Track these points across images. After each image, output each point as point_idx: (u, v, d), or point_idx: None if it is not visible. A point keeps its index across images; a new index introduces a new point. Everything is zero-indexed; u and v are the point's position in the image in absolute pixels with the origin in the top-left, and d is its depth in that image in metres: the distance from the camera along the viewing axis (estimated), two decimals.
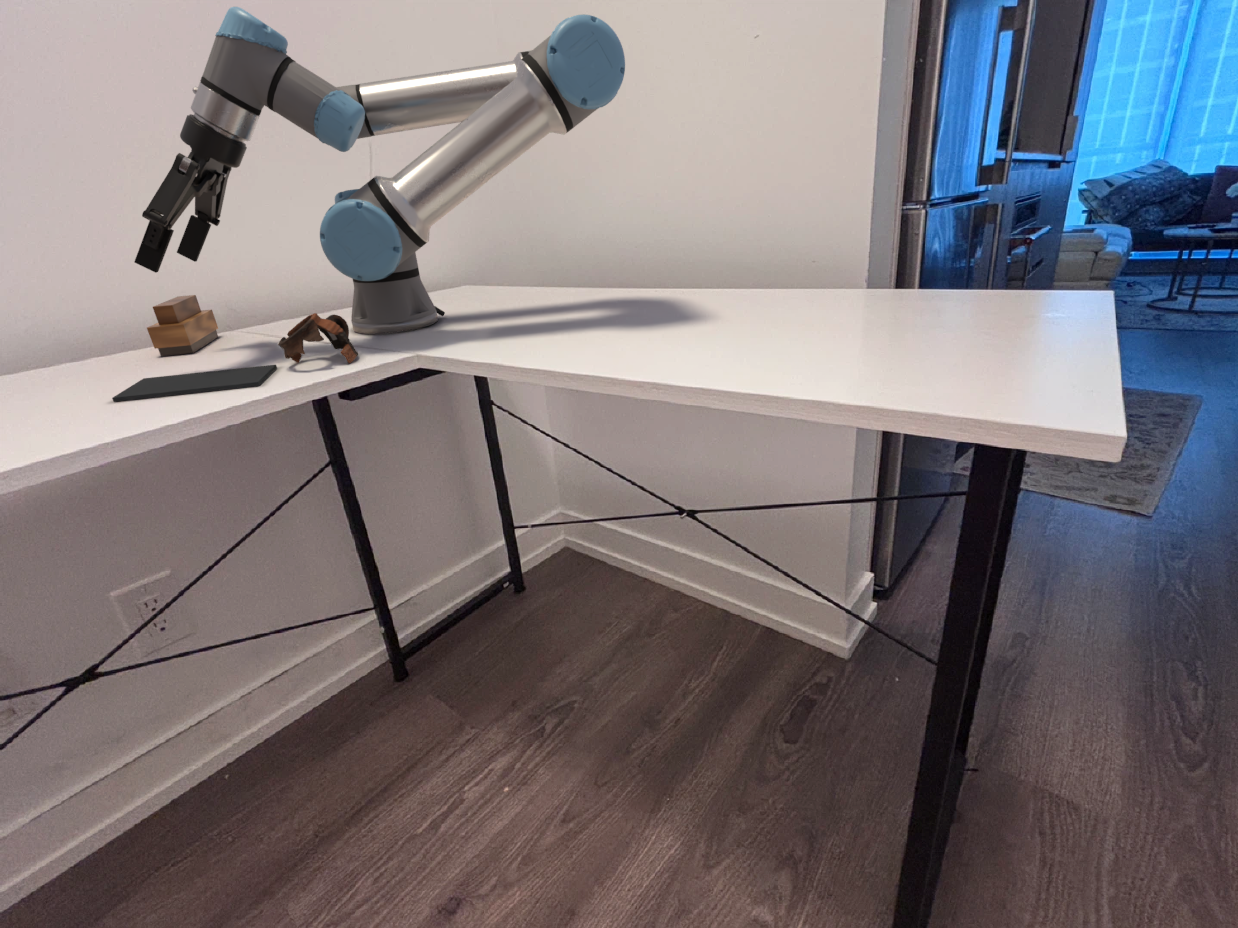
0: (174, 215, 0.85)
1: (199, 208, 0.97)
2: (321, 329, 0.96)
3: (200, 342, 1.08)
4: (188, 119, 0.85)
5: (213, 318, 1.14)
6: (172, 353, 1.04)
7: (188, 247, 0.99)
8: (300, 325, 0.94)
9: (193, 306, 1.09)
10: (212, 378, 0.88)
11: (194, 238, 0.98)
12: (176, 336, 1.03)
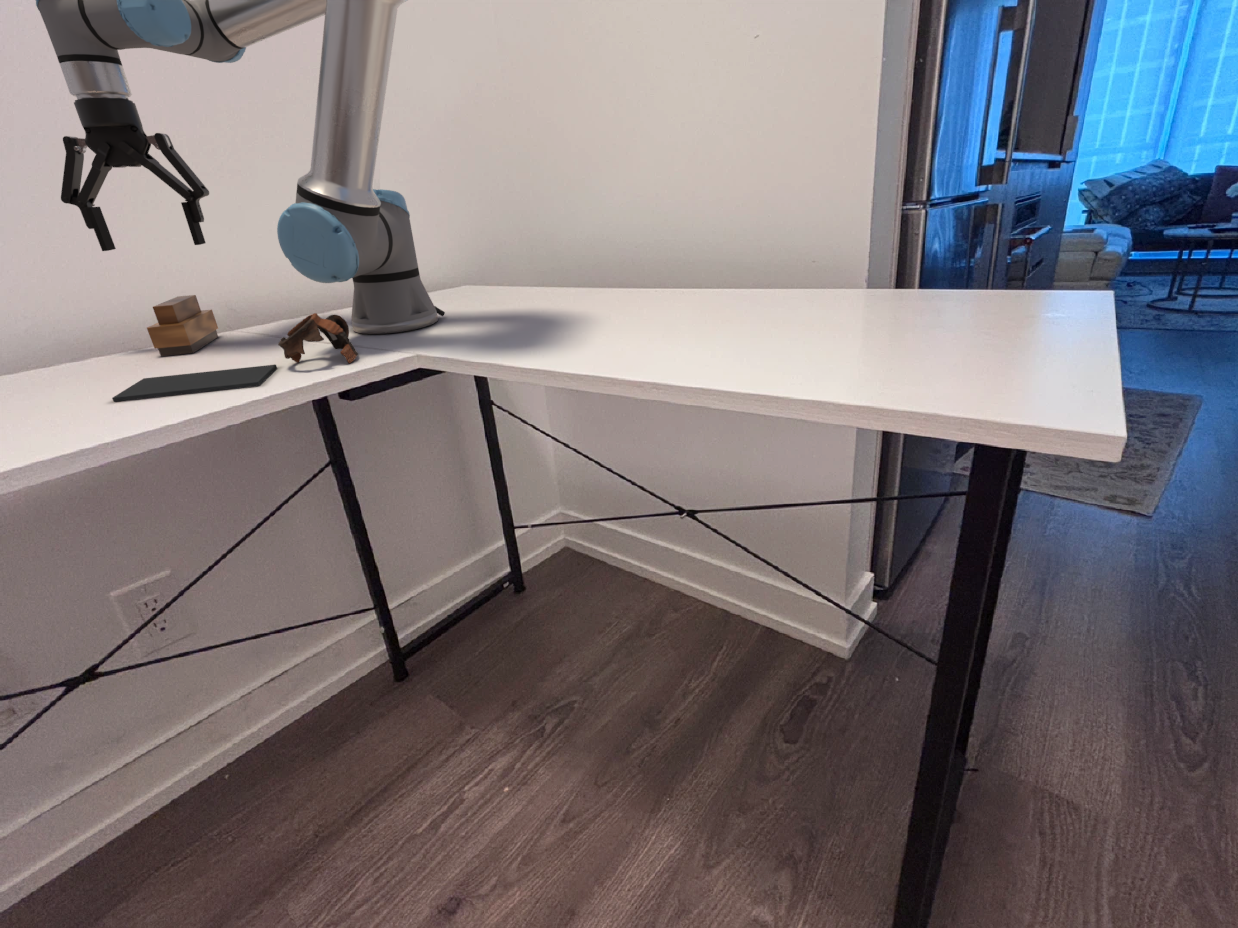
0: (80, 192, 0.97)
1: None
2: (321, 329, 0.96)
3: (200, 342, 1.08)
4: None
5: (213, 318, 1.14)
6: (172, 353, 1.04)
7: None
8: (300, 325, 0.94)
9: (193, 306, 1.09)
10: (212, 378, 0.88)
11: None
12: (176, 336, 1.03)
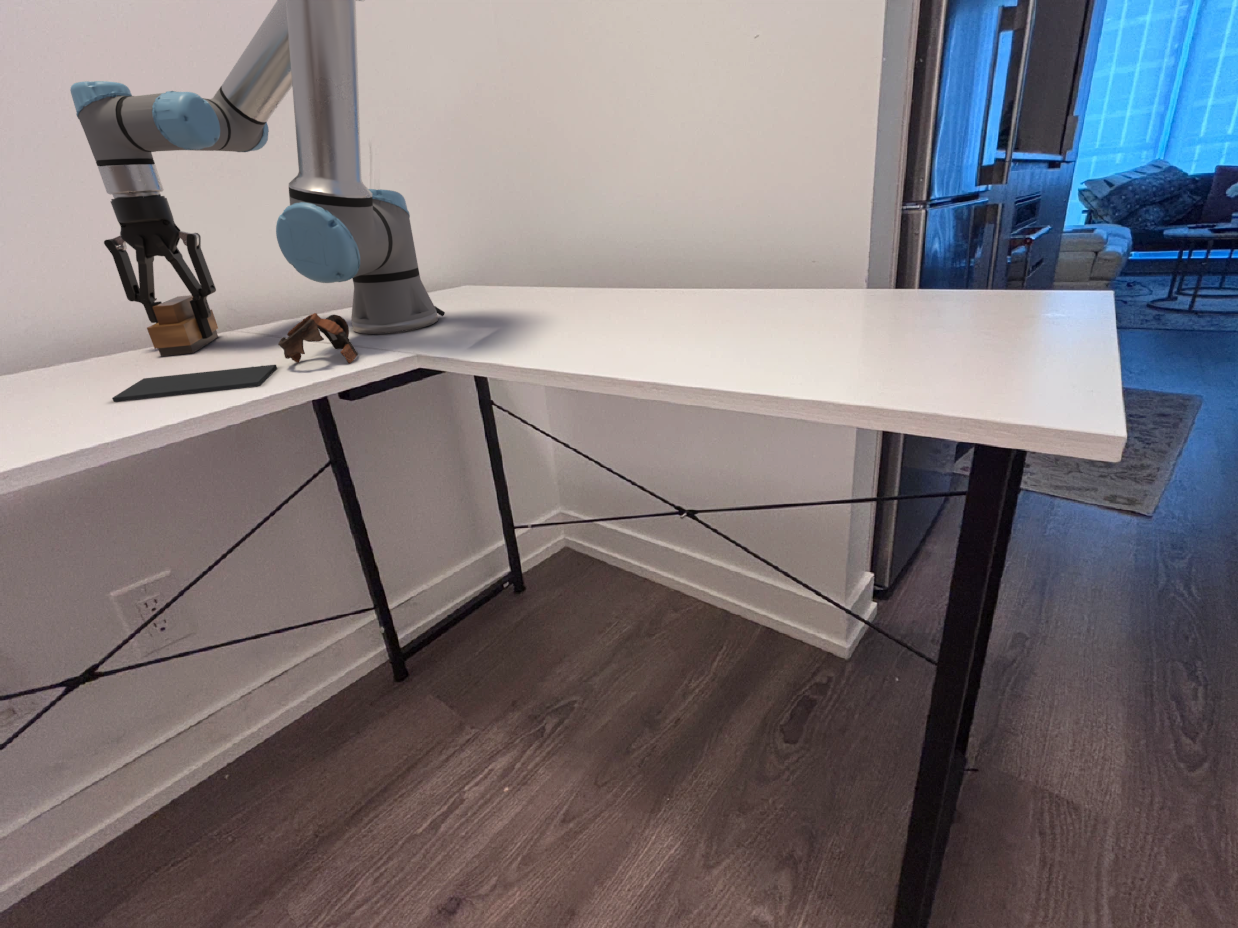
0: (140, 291, 1.04)
1: None
2: (321, 329, 0.96)
3: (200, 342, 1.08)
4: None
5: (213, 318, 1.14)
6: (172, 353, 1.04)
7: None
8: (300, 325, 0.94)
9: None
10: (212, 378, 0.88)
11: None
12: (176, 336, 1.03)
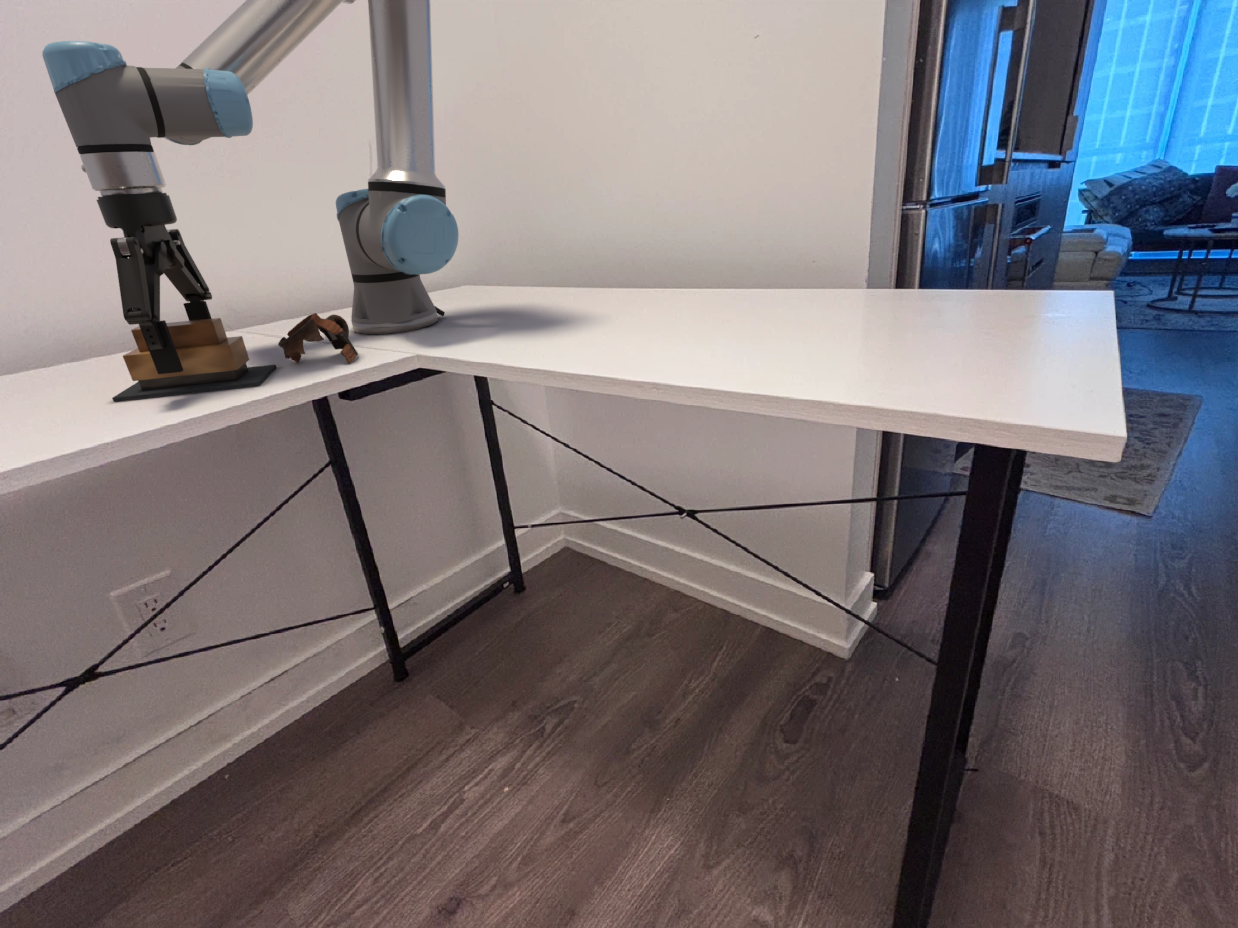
0: (153, 304, 0.76)
1: (184, 291, 0.88)
2: (321, 329, 0.96)
3: None
4: (98, 201, 0.75)
5: None
6: (241, 374, 0.88)
7: None
8: (300, 325, 0.94)
9: None
10: None
11: None
12: (242, 351, 0.88)
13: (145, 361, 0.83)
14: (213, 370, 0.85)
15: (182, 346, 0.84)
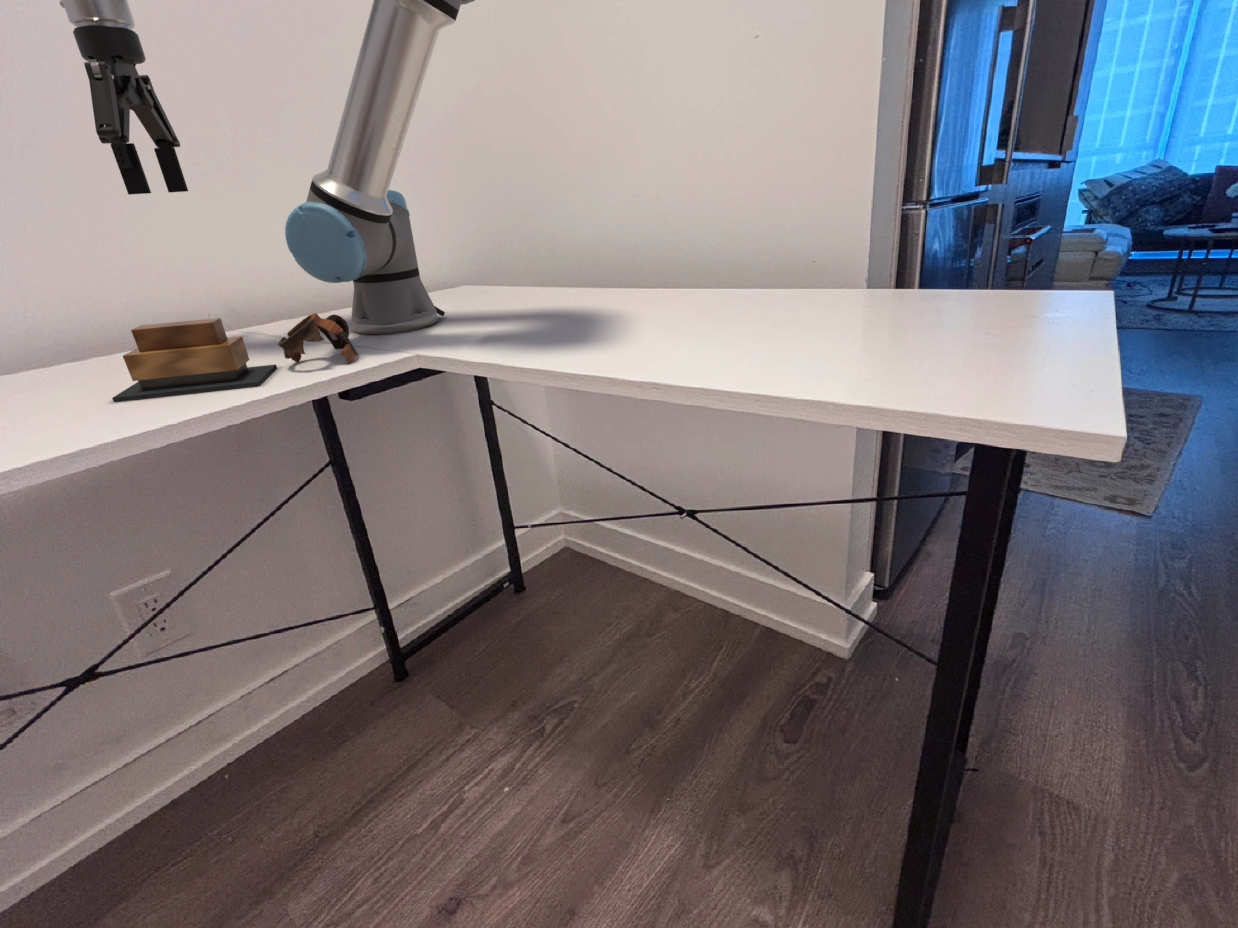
0: (123, 125, 0.87)
1: (154, 136, 0.98)
2: (321, 329, 0.96)
3: None
4: (74, 32, 0.85)
5: None
6: (241, 374, 0.88)
7: (173, 181, 1.02)
8: (300, 325, 0.94)
9: None
10: None
11: (171, 169, 1.01)
12: (242, 351, 0.88)
13: (145, 361, 0.83)
14: (213, 370, 0.85)
15: (182, 346, 0.84)
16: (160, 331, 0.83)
